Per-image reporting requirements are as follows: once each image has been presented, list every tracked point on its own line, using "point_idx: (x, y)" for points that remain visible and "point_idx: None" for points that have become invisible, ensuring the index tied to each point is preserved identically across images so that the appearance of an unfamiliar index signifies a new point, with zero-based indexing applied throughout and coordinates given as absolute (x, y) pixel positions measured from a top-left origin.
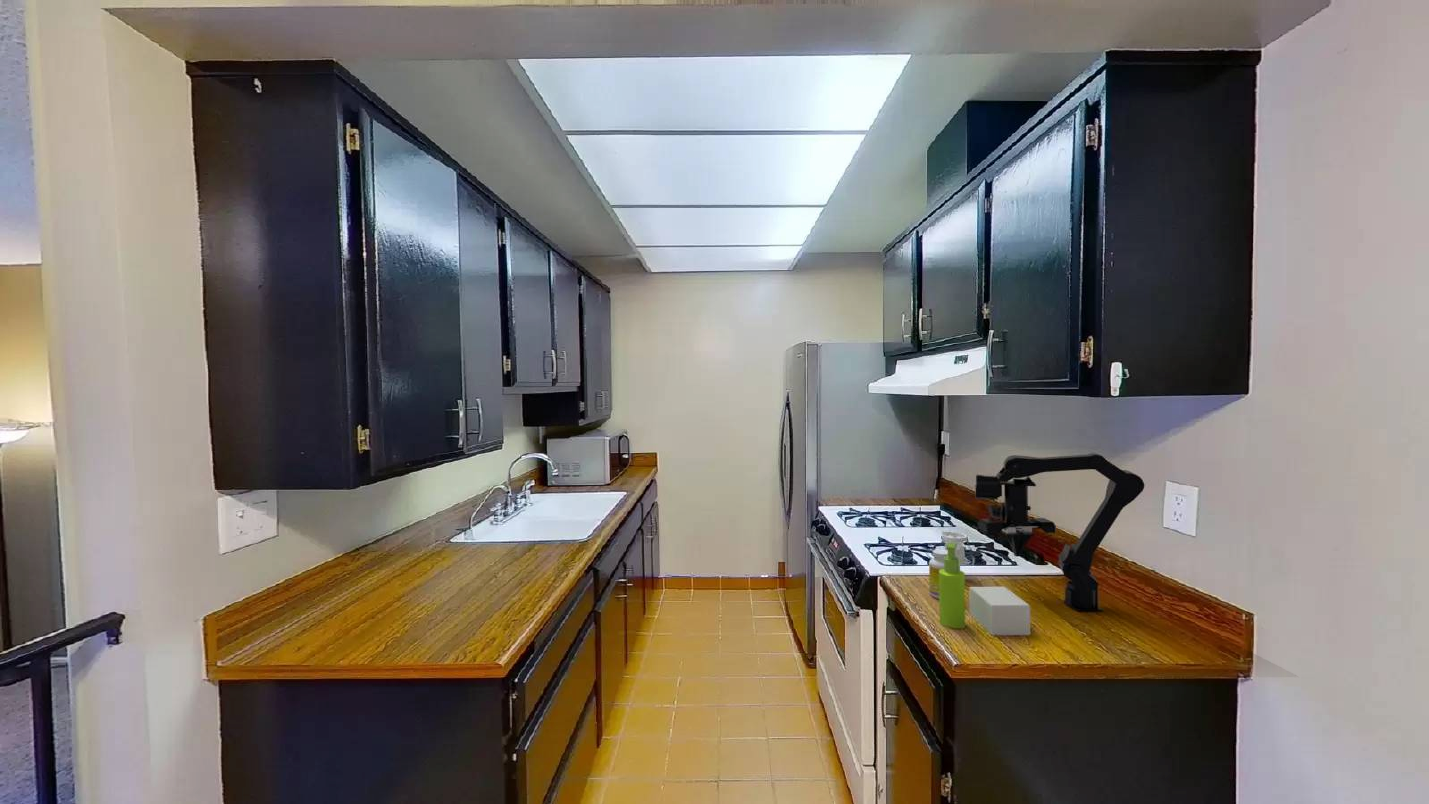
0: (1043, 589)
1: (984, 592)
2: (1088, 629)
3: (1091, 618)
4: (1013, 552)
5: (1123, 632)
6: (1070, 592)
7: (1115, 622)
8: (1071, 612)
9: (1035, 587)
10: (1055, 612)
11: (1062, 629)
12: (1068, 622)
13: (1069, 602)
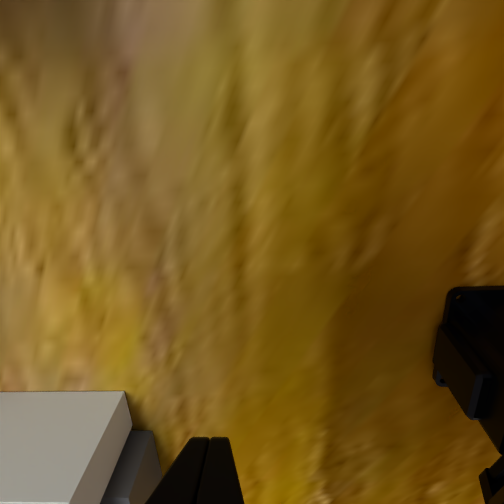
0: (484, 101)
1: None
2: (357, 485)
3: (437, 423)
4: (171, 471)
5: (455, 501)
6: (464, 409)
7: None
8: (401, 380)
9: (457, 63)
10: (334, 380)
11: (272, 484)
12: (326, 447)
13: (439, 361)
